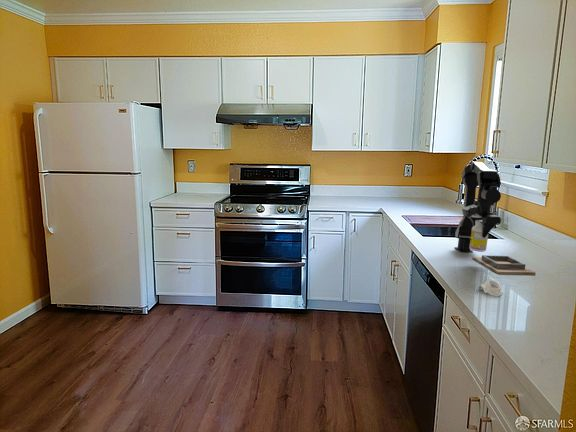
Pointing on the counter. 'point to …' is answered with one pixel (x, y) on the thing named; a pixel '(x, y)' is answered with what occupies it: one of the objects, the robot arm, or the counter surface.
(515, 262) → the holder board
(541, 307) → the counter surface
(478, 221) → the supplement bottle
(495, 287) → the whipped cream
